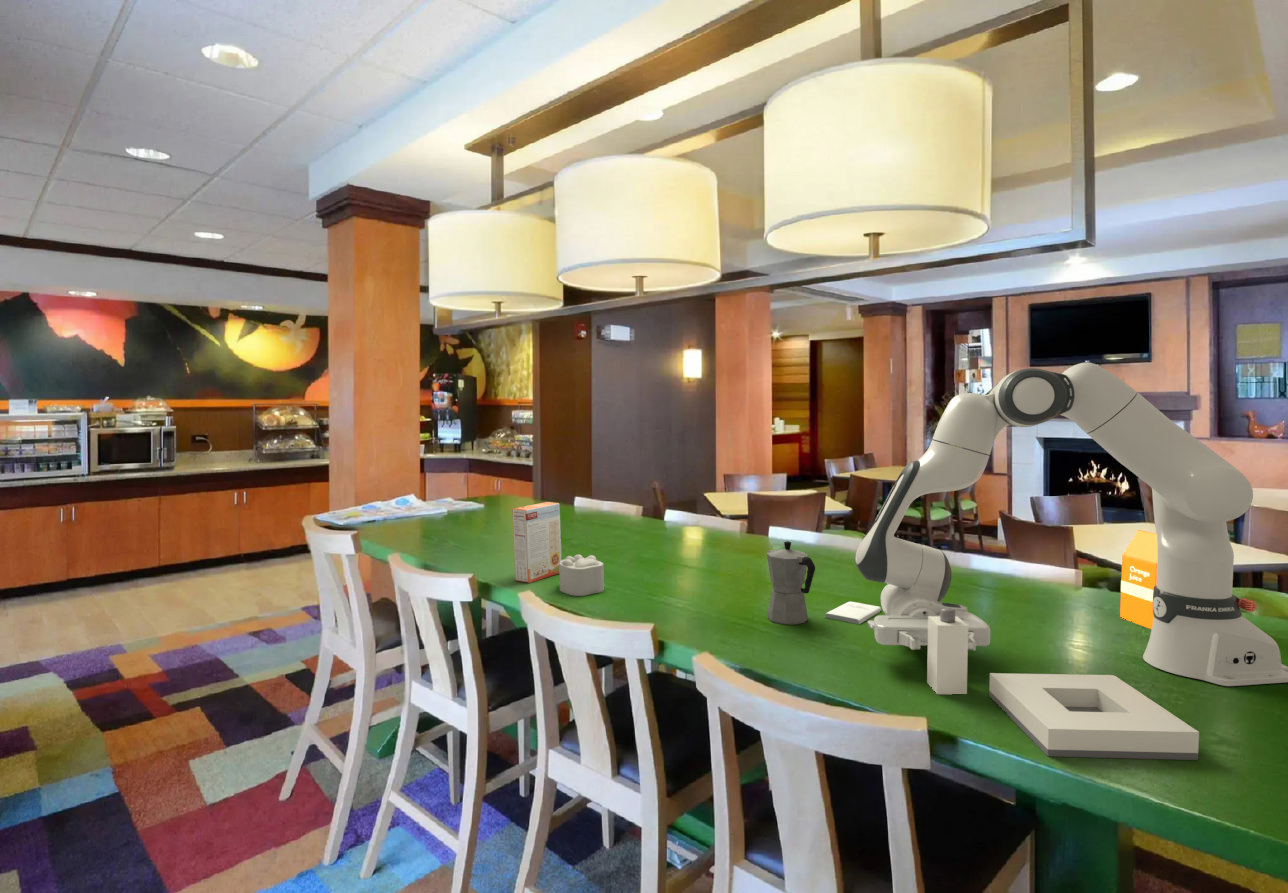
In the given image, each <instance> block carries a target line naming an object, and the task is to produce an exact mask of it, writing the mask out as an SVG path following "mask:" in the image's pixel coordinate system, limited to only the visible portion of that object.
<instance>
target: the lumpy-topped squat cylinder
mask: <svg viewBox="0 0 1288 893" xmlns="http://www.w3.org/2000/svg"><path fill="white" fill-rule="evenodd" d="M604 570H605V569H604V563H603V562H602V561H599V560H597V558H596V556H595V555H592V554H591V555H588V556H586V557H583V555H581V554H575V555H574V556H572V555H568V556H566V557H565V558H564V559H561V561H560V562H559V574H558V575H559V580H558V581H559V592H561V593H564V594H567V595H568V596H569V595H571V596H574V597H584V596H588V595H592V594H597V593H599V594H600V593H602V592H604V590H605V583H604V582H605V580H604V578H605V577H604V576H605V574H604V573H605V571H604Z"/></svg>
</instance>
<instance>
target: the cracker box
mask: <svg viewBox="0 0 1288 893" xmlns="http://www.w3.org/2000/svg"><path fill="white" fill-rule="evenodd" d="M560 508H561V507H560V503H559V502H552V501H551V502H550V501H545V502H541V503H535V504H531V505H525V506H520V507H514V508H512V509H511V510H512V511H511V512H512V532H513V533H512V534H513V536H512V537H513V559H514V578H515V581H517V582H522V583H528V584H531V583H533V582H534V583H535V582H537V581H540V580H543V579H546V578H548V577H552V576H555V575H559V562H560V561H561V560H562V540H561V533H562V532H561V511H560V510H561V509H560Z"/></svg>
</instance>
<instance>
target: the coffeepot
mask: <svg viewBox="0 0 1288 893" xmlns="http://www.w3.org/2000/svg"><path fill="white" fill-rule="evenodd" d="M783 545H784V549H783V548H782V549H771V550H767V553H766V557H767V565H768V570H769V571H768V572H769V578H770V582H771V583H772V589H771V593H770V595H769V596H770V597H769V598H770V599H769V602H768V603H769V604H768V608H767V615H766V617H767V618H768V620H770V621H771V622H773V623H775V624H780V625H788V626H789V625H790V626H793V625H795V626H796V625H800V624H804V623H806V621H808V620H809V616H808V610H807V606H806V605H807V604H806V598H805V594H809V593H810V589H811V585H812V582H813V578H814V574H815V573H816V572H815V571H816V565H815V563H814V561H813V560H812V558H811V557H809V554H807V553H806V552H804V551H801V550H795V549H791V545H792V542H791V541H789V540H788V541H787V540H786V541H784V542H783ZM803 584H804V588H803Z"/></svg>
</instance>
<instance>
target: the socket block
mask: <svg viewBox="0 0 1288 893" xmlns="http://www.w3.org/2000/svg"><path fill="white" fill-rule="evenodd" d="M988 689H989V690H988V691H989V692H988V693H989V694H988V696H989V698H990V699H991V698H992V699H991V700H992V701H993V702H994V703H995V702H996V703H995V704H996V705H997V704H998V705H997V706H998V707H999V708H1000V707H1001V708H1002V709H1001V708H1000V709H1001V710H1002V711H1003V712H1004V711H1005V712H1006V713H1007V714H1006V713H1005V712H1004V713H1005V714H1006V715H1007V717H1009V716H1010V717H1009V718H1010V719H1011V721H1013V723H1014V724H1015V725H1016V726H1017V727H1019V729H1021V731H1022V732H1023V733H1025V735H1027V737H1028V738H1029V737H1030V738H1029V739H1030V740H1031V741H1032V740H1033V741H1032V742H1033V743H1034V744H1035V745H1036V746H1037V747H1038V748H1039V749H1040V750H1041V751H1042V752H1043V753H1044V754H1045V755H1046V757H1053V756H1054V757H1055V758H1057V757H1058V758H1062V757H1063V758H1095V759H1096V758H1097V759H1098V758H1100V759H1101V758H1102V759H1133V760H1134V759H1137V760H1139V759H1140V760H1141V759H1142V760H1143V759H1144V760H1174V761H1175V760H1177V761H1178V760H1180V761H1181V760H1183V761H1186V760H1187V761H1198V760H1199V747H1200V746H1199V744H1200V743H1199V742H1200V740H1199V739H1200V732H1199V731H1198V730H1197V729H1195V728H1194V727H1193V726H1191V725H1189V724H1187V723H1186V722H1185V721H1183V720H1182V719H1180V718H1179V717H1177V716H1176V715H1174V714H1172V713H1171V712H1170V711H1168V710H1167V709H1165V708H1164V707H1162V705H1159V704H1158V703H1156V702H1155V701H1153V700H1152V699H1150V698H1149V697H1147V696H1146V695H1145V694H1143V693H1141V692H1140V691H1139V690H1137V689H1136V688H1134V687H1132V686H1131V685H1130V684H1128V683H1127V682H1125V681H1123V680H1122V679H1120V678H1119V677H1117V676H1116V675H1115V674H1071V673H1070V674H1068V673H1067V674H1066V673H1065V674H1062V673H1061V674H1060V673H1058V674H1057V673H1005V672H1004V673H1001V672H998V673H997V672H996V673H995V672H990V673H989V688H988Z"/></svg>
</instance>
